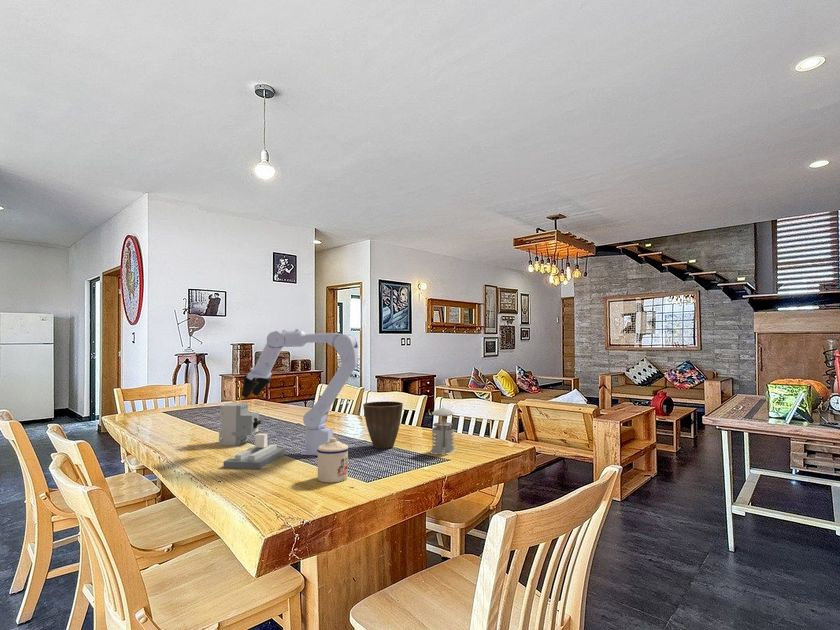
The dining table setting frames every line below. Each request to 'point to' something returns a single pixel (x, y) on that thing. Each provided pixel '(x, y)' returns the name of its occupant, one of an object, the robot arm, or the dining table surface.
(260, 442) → the lever
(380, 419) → the plant pot
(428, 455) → the dining table surface
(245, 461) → the panel
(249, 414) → the circuit breaker
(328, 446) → the teacup with lid
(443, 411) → the french press
